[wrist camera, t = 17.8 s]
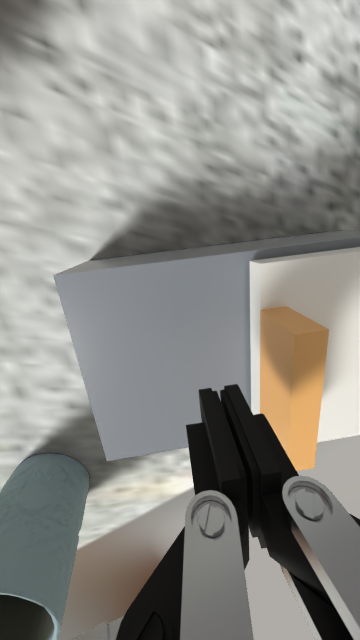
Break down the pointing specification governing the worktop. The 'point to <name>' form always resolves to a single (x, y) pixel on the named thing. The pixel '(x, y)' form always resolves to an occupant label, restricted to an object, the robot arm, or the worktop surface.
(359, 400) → the lid
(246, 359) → the housing
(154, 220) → the worktop surface
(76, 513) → the blue-grey cup
